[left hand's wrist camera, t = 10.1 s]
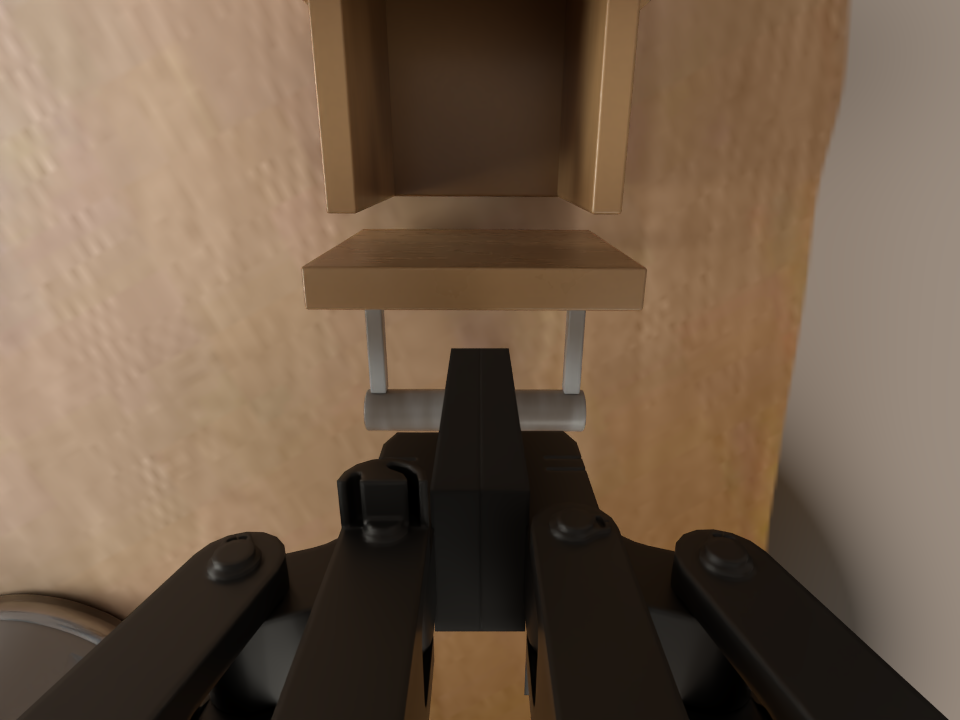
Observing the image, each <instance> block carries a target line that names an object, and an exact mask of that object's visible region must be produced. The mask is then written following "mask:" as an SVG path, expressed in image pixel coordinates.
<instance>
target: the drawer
mask: <svg viewBox="0 0 960 720" xmlns="http://www.w3.org/2000/svg"><path fill="white" fill-rule="evenodd" d="M640 1H641V0H308V6H309V18H310V29H311V40H312V51H313V62H314V74H315V85H316V96H317V107H318V119H319V130H320V141H321V152H322V163H323V175H324V186H325V197H326V208H327V213H357V212H359V211H362V210H364V209H366V208H368V207H371V206H373V205H375V204H377V203H380V202H382V201H384V200H386V199H389V198H391V197H393V196H498V197H560V198H562V199H564V200H566V201H568V202H570V203H572V204H574V205H576V206H578V207H580V208H582V209H585V210H587V211H589V212H591V213H593V214H620V213H621V211H622V201H623V190H624V179H625V167H626V156H627V145H628V134H629V123H630V112H631V101H632V90H633V78H634V67H635V56H636V45H637V34H638V23H639V12H640ZM301 271H302V280H303V289H304V299H305V307H306V309H330V310H365V319H366V333H367V347H368V362H369V376H370V389H369V390H367V392H366V396H365V402H364V421H365V426H366V429H367V430H368V431H439V427H440V420H441V414H442V407H443V401H444V394H445V389H388V372H387V355H386V338H385V320H384V310H567V317H566V333H565V350H564V366H563V383H562V388H563V390H515V394H516V401H517V407H518V414H519V420H520V427H521V431H583V430H584V428H585V423H586V400H585V395H584V392H583V391H582V390H580V382H581V369H582V355H583V341H584V327H585V313H586V310H591V311H640V310H642V309H643V302H644V293H645V284H646V274H647V269H646V268H645V267H643V266H642V265H640V264H639V263H637V262H636V261H634V260H633V259H631V258H630V257H628V256H627V255H625V254H624V253H622V252H621V251H619V250H618V249H616V248H615V247H613V246H612V245H610V244H609V243H607V242H606V241H604V240H603V239H601V238H600V237H598V236H597V235H595V234H594V233H592V232H591V231H589V230H434V229H363V230H362V231H360V232H358V233H357V234H355V235H353V236H352V237H350V238H349V239H347V240H345V241H344V242H342V243H340V244H339V245H337V246H335V247H334V248H332V249H331V250H329V251H327V252H326V253H324V254H322V255H321V256H319V257H318V258H316V259H314V260H313V261H311V262H309V263H308V264H306V265H305V266H303V267H302V269H301Z"/></svg>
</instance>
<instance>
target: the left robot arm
mask: <svg viewBox="0 0 960 720" xmlns="http://www.w3.org/2000/svg"><path fill="white" fill-rule="evenodd" d="M337 487H338V497H339V506H340V516H341V526H342V529H341V532H340V534H339V537H338V539H335V540H333V541H331V542H329V543H327V544H324V545H321V546H317V547H314V548H310V549H305V550H301V551H296V552H292V553H287V554H286V553H285V547H284V544H283V543H282V542H281V541H280V540H279V539H278V538H277V537H275V536H273V535H270V534H267V533H264V532H244V533H239V534H234V535H229V536H226V537H224V538H222V539H219V540H217V541H215V542H212V543H210V544H209V545H207V546H206V547H204V548H203V549H201V550H200V551H199V552H197V553H196V554H195V555H193V556H192V557H191V558H190V559H189V560H188V561H187V562H186V563H185V564H184V565H183V566H182V567H180V568H179V569H178V570H177V571H176V572H175V573H174V574H173V575H172V576H171V577H170V578H169V579H168V580H166V581H165V582H164V583H163V584H162V585H161V586H160V587H159V588H158V589H157V590H156V591H155V592H154V593H152V594H151V595H150V596H149V597H148V598H147V599H146V600H145V601H144V602H143V603H142V604H141V605H139V606H138V607H137V608H136V609H135V610H134V611H133V612H132V613H131V614H130V615H129V616H128V617H127V618H125V619H124V620H123V621H121V620H119V619H117V618H115V617H113V616H112V615H109V614H107V613H105V612H103V611H101V610H98V609H96V608H93V607H90V606H87V605H84V604H82V603H78V602H75V601H71V600H67V599H62V598H57V597H52V596H44V595H33V594H11V595H1V596H0V720H429V713H430V701H431V690H432V679H433V667H434V642H433V633H434V622H435V631H525V620H526V630H527V642H526V668H525V694H524V695H529V701H530V712H531V720H948V719H947V718H946V717H945V716H944V715H943V714H942V713H941V712H940V711H938V710H937V709H936V708H935V707H934V706H933V705H932V704H931V703H930V702H929V701H928V700H926V699H925V698H924V697H923V696H922V695H921V694H920V693H919V692H918V691H917V690H916V689H915V688H913V687H912V686H911V685H910V684H909V683H908V682H907V681H906V680H905V679H904V678H903V677H902V676H900V675H899V674H898V673H897V672H896V671H895V670H894V669H893V668H892V667H891V666H890V665H888V664H887V663H886V662H885V661H884V660H883V659H882V658H881V657H880V656H879V655H878V654H876V653H875V652H874V651H873V650H872V649H871V648H870V647H869V646H868V645H867V644H866V643H865V642H863V641H862V640H861V639H860V638H859V637H858V636H857V635H856V634H855V633H854V632H853V631H851V630H850V629H849V628H848V627H847V626H846V625H845V624H844V623H843V622H842V621H841V620H840V619H838V618H837V617H836V616H835V615H834V614H833V613H832V612H831V611H830V610H829V609H828V608H826V607H825V606H824V605H823V604H822V603H821V602H820V601H819V600H818V599H817V598H816V597H814V596H813V595H812V594H811V593H810V592H809V591H808V590H807V589H806V588H805V587H804V586H803V585H801V584H800V583H799V582H798V581H797V580H796V579H795V578H794V577H793V576H792V575H791V574H789V573H788V572H787V571H786V570H785V569H784V568H783V567H782V566H781V565H780V564H779V563H778V562H776V561H775V560H774V559H773V558H772V557H771V556H770V555H769V554H768V553H767V552H765V551H764V550H763V549H761V548H760V547H758V546H757V545H756V544H754V543H753V542H751V541H749V540H747V539H745V538H742V537H740V536H738V535H735V534H733V533H729V532H724V531H719V530H714V529H712V530H695V531H692V532H689V533H686V534H684V535H683V536H682V537H681V538H680V539H679V540H678V541H677V542H676V547H675V551H670V550H665V549H661V548H656V547H652V546H647V545H644V544H641V543H637V542H634V541H632V540H630V539H627V538H625V537H623V536H621V534H620V531H619V528H618V527H617V525H616V524H615V522H614V521H613V519H612V518H611V517H610V516H608V515H607V514H605V513H604V512H603V511H601V510H600V509H599V507H598V504H597V501H596V498H595V495H594V493H593V490H592V487H591V484H590V481H589V478H588V475H587V472H586V471H585V466H584V463H583V460H582V459H581V454H580V451H579V448H578V445H577V443H576V442H575V441H574V440H573V439H572V438H571V437H569V436H568V435H567V434H566V433H565V432H564V431H521V427H520V420H519V414H518V407H517V401H516V394H515V387H514V381H513V374H512V367H511V361H510V354H509V348H451V354H450V361H449V367H448V374H447V381H446V387H445V394H444V401H443V407H442V414H441V420H440V427H439V433H396V434H395V435H394V436H393V437H392V438H390V439H389V440H388V441H387V442H386V443H385V444H384V445H383V448H382V451H381V454H380V457H379V459H374V460H370V461H366V462H363V463H360V464H357V465H355V466H353V467H352V468H350V469H348V470H347V471H345V472H344V473H343V474H342V475H341V477H340V478H339V479H338V480H337Z"/></svg>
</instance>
